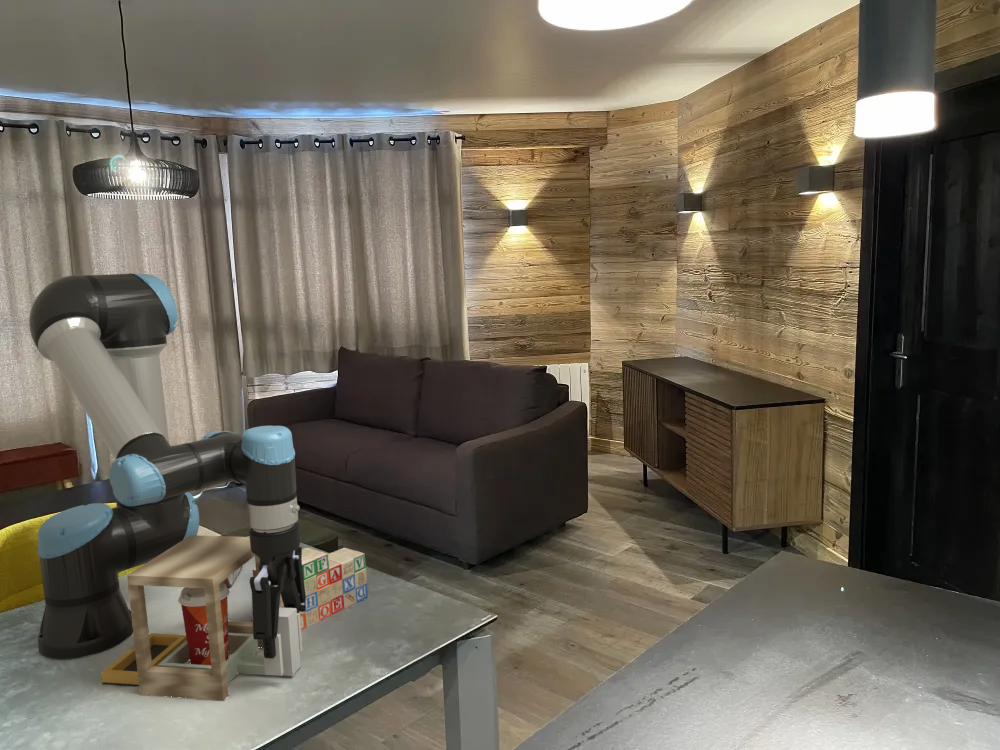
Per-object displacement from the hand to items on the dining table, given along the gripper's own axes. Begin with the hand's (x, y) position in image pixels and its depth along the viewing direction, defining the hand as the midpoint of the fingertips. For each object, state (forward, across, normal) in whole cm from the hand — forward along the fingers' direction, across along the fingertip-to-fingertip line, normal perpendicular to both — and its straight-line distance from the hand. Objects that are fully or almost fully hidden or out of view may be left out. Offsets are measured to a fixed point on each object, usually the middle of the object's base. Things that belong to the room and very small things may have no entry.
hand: (284, 661), depth 120 cm
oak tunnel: (+2, 0, +13) cm, 13 cm away
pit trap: (+2, 0, +24) cm, 25 cm away
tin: (+2, +34, +28) cm, 44 cm away
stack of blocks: (+2, +20, +4) cm, 21 cm away
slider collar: (+2, 0, +8) cm, 8 cm away
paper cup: (+2, 0, +13) cm, 13 cm away
